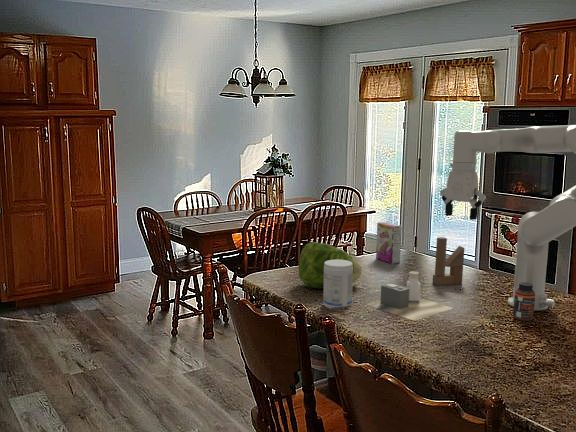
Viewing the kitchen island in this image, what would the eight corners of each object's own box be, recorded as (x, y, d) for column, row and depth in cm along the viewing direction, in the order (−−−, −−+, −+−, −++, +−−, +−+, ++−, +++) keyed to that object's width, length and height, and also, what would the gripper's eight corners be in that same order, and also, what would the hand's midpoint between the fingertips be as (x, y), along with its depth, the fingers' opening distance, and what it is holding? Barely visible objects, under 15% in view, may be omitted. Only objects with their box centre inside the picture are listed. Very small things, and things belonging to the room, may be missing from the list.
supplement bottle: (520, 322, 179) (523, 286, 177) (508, 316, 184) (511, 281, 182) (537, 320, 180) (540, 285, 178) (524, 314, 186) (527, 280, 184)
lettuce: (355, 301, 217) (373, 277, 205) (295, 294, 210) (311, 269, 199) (348, 265, 228) (366, 240, 216) (292, 257, 221) (306, 231, 209)
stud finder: (408, 306, 188) (409, 287, 187) (399, 309, 185) (400, 290, 184) (389, 300, 194) (390, 282, 193) (380, 303, 191) (381, 284, 190)
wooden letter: (462, 284, 220) (465, 237, 217) (437, 286, 217) (439, 239, 214) (456, 281, 223) (459, 235, 220) (432, 283, 220) (434, 237, 217)
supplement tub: (341, 300, 198) (342, 257, 196) (357, 307, 190) (359, 264, 188) (317, 304, 193) (318, 260, 191) (333, 312, 185) (334, 267, 183)
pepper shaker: (417, 298, 197) (418, 271, 196) (420, 301, 193) (421, 274, 192) (405, 298, 197) (406, 270, 196) (408, 301, 193) (409, 274, 192)
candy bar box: (375, 258, 259) (376, 222, 256) (383, 257, 261) (385, 221, 258) (391, 264, 249) (393, 226, 246) (400, 263, 252) (402, 225, 249)
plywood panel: (453, 311, 188) (454, 308, 187) (414, 324, 175) (414, 320, 175) (404, 296, 203) (405, 293, 203) (365, 307, 190) (365, 304, 190)
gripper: (435, 166, 200) (433, 215, 203) (480, 169, 187) (476, 222, 190) (448, 165, 205) (446, 213, 208) (493, 168, 192) (489, 220, 194)
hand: (460, 217), depth 199 cm, fingers open, 9 cm apart
